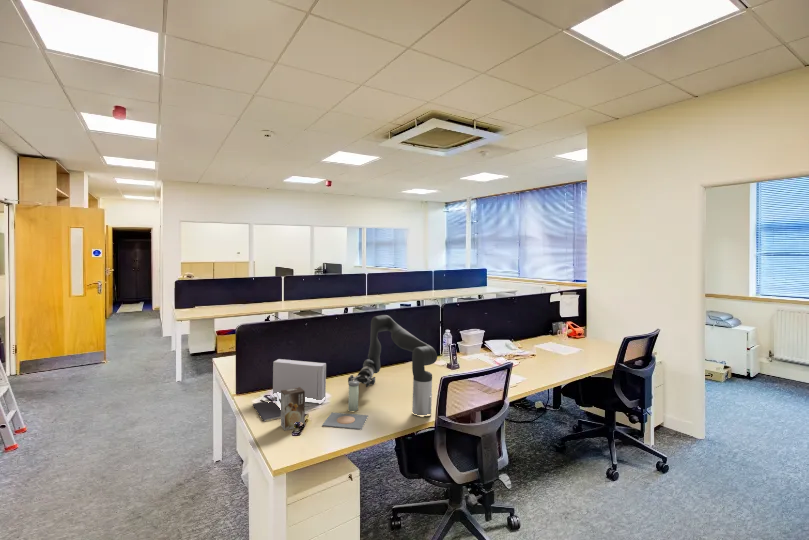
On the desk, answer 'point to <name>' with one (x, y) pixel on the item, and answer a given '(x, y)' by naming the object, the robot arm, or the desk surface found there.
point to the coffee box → (292, 407)
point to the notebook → (268, 410)
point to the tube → (353, 395)
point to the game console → (300, 377)
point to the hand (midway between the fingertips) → (358, 384)
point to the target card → (345, 420)
